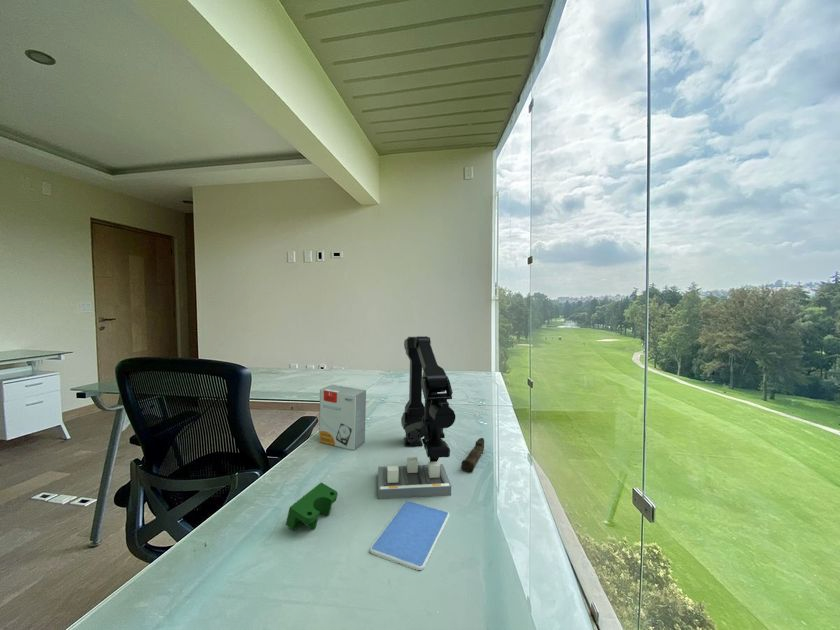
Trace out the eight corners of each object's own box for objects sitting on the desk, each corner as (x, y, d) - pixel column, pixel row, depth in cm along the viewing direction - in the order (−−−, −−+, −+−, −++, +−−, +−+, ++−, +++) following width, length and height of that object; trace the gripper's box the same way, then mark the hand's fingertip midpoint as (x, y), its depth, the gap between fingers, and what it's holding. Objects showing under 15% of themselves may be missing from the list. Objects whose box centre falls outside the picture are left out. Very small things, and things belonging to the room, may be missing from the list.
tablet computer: (405, 503, 89) (405, 498, 89) (450, 516, 84) (450, 511, 84) (367, 555, 71) (368, 549, 71) (422, 575, 66) (422, 568, 66)
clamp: (307, 548, 77) (304, 527, 73) (288, 535, 79) (283, 514, 75) (340, 503, 87) (339, 482, 82) (322, 492, 89) (320, 471, 84)
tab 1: (387, 478, 94) (387, 466, 94) (397, 477, 95) (398, 465, 95) (387, 483, 92) (387, 470, 92) (398, 482, 92) (398, 470, 92)
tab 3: (428, 473, 98) (428, 461, 97) (438, 472, 98) (438, 461, 98) (429, 477, 95) (429, 466, 95) (439, 477, 96) (440, 465, 95)
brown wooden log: (472, 474, 103) (473, 460, 103) (460, 471, 105) (461, 457, 105) (490, 450, 120) (490, 437, 119) (479, 447, 122) (480, 435, 121)
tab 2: (406, 468, 100) (407, 457, 100) (416, 468, 100) (417, 457, 100) (407, 473, 97) (407, 461, 97) (417, 472, 98) (417, 461, 98)
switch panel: (378, 474, 101) (378, 464, 101) (442, 471, 104) (442, 462, 104) (378, 499, 89) (378, 487, 89) (451, 495, 92) (451, 484, 92)
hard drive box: (318, 442, 122) (318, 389, 120) (331, 434, 129) (331, 384, 127) (354, 451, 116) (355, 395, 114) (366, 442, 123) (366, 389, 122)
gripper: (404, 404, 106) (403, 452, 107) (410, 428, 88) (408, 485, 89) (438, 404, 108) (437, 451, 109) (451, 427, 89) (449, 483, 90)
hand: (432, 466), depth 99 cm, fingers closed
